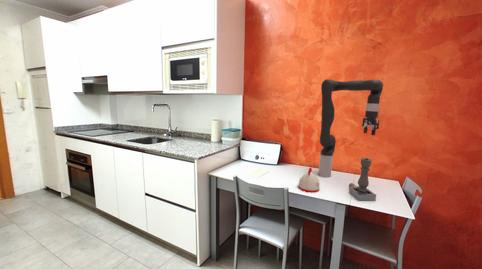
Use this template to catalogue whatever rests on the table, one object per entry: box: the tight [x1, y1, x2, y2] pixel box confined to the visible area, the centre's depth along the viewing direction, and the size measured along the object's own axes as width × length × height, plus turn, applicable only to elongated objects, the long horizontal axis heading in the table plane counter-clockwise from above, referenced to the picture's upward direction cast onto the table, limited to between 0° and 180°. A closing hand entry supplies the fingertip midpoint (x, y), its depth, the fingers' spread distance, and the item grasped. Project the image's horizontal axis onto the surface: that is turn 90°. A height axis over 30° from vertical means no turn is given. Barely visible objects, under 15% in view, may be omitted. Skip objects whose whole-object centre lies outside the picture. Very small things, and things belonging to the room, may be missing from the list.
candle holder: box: [357, 157, 372, 194], centre depth 140 cm, size 6×6×25 cm
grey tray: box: [348, 182, 377, 202], centre depth 146 cm, size 18×11×5 cm, turn 3°
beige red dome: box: [297, 166, 320, 194], centre depth 152 cm, size 14×14×15 cm
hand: (368, 134), depth 152 cm, fingers open, 8 cm apart
